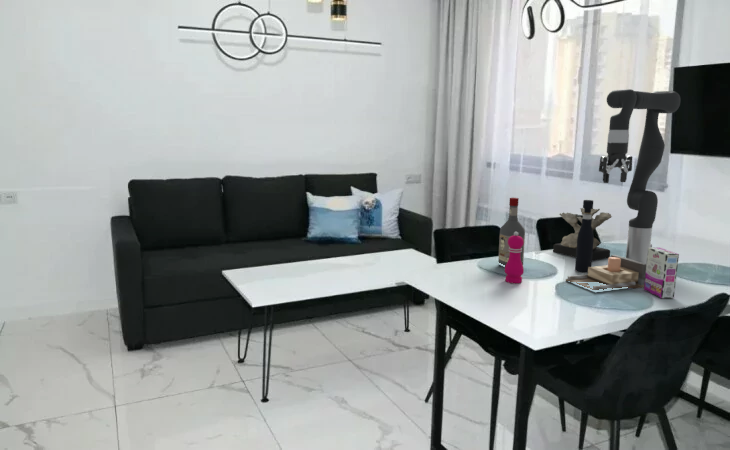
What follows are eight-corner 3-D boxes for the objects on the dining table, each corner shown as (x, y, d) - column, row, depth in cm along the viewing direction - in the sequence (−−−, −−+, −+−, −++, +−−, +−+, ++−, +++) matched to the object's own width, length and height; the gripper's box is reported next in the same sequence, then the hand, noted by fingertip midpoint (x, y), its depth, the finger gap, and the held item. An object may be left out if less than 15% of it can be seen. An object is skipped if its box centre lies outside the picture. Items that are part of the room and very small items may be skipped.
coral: (547, 250, 266) (550, 207, 262) (576, 246, 275) (579, 204, 271) (589, 261, 244) (593, 214, 240) (619, 256, 253) (623, 211, 249)
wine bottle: (592, 273, 224) (598, 201, 219) (576, 272, 226) (581, 201, 220) (589, 269, 231) (595, 199, 225) (573, 268, 232) (578, 199, 226)
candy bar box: (675, 298, 191) (680, 253, 188) (661, 299, 191) (666, 254, 188) (655, 289, 202) (660, 246, 199) (643, 289, 202) (647, 247, 199)
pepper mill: (512, 284, 208) (515, 234, 204) (500, 280, 214) (502, 230, 210) (527, 282, 211) (529, 232, 207) (514, 277, 217) (516, 229, 214)
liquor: (513, 262, 241) (517, 196, 235) (525, 268, 232) (529, 199, 227) (495, 264, 238) (498, 197, 232) (507, 269, 229) (511, 200, 224)
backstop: (613, 276, 220) (615, 254, 218) (645, 287, 205) (647, 264, 203) (565, 281, 212) (567, 259, 211) (594, 293, 197) (596, 269, 196)
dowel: (613, 276, 212) (615, 256, 211) (621, 279, 208) (623, 259, 207) (604, 277, 211) (605, 257, 209) (612, 280, 207) (614, 260, 205)
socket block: (612, 274, 217) (613, 264, 217) (637, 283, 206) (638, 272, 205) (587, 277, 213) (588, 267, 212) (611, 286, 202) (612, 275, 201)
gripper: (624, 141, 218) (621, 181, 221) (596, 141, 214) (593, 182, 217) (639, 141, 211) (635, 182, 214) (610, 142, 207) (607, 184, 210)
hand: (614, 182), depth 215 cm, fingers open, 8 cm apart
